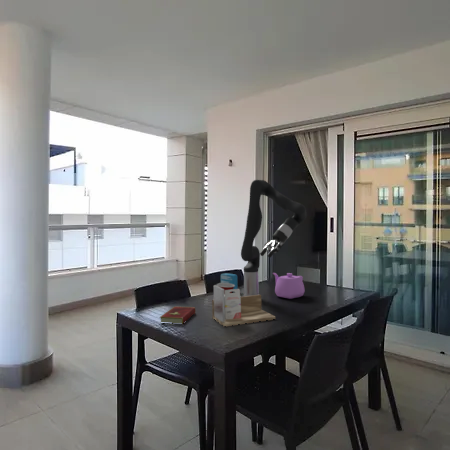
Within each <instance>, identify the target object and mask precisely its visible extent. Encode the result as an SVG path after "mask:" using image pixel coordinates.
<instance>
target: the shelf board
mask: <svg viewBox="0 0 450 450" xmlns="http://www.w3.org/2000/svg"><path fill="white" fill-rule="evenodd" d="M240 298H241V318H235V319H227V320H225V322H221V321H220V320H219V319H217V318H216V317H214V299H212V301H211V303H212V304H211V306H212V308H211V309H212V310H211V313H212V319H213V320H214V319H215V320H216V321H215V320H214V321H215V322H217V323H218V322H219V323H218V324H219V325H221V326H222V325H223V327H224V326H226V327H232V325H233V326H238V324H240V325H246V324H245V323H247V324H252V323H253V322H254V323H260V322H259V321H261V322H266V320H268V321H274V320H273V319H275V320H276V316H275V315H273V314H271V313H269V312H267V311H266V310H263V309H262V294H259V295H252V296H244V295H243V296H240Z"/></svg>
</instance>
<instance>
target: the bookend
mask: <svg viewBox="0 0 450 450" xmlns="http://www.w3.org/2000/svg"><path fill="white" fill-rule="evenodd" d="M213 300H214V317H216V318H217V319H219V320H220V321H221V322H225V305H224V289H223V288H220V287H218V286H217V284H214V285H213Z"/></svg>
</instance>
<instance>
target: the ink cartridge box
mask: <svg viewBox="0 0 450 450" xmlns="http://www.w3.org/2000/svg"><path fill="white" fill-rule="evenodd" d="M232 291H233V293H230V292H232ZM240 297H241V290H240V288H238V289H231V290H225V294H224V305H225V320H227V319H235V318H241V298H240Z"/></svg>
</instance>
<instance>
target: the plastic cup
mask: <svg viewBox="0 0 450 450" xmlns="http://www.w3.org/2000/svg"><path fill="white" fill-rule="evenodd" d="M216 286H218V287H220V288H223V289H224V294H225V290H231V289H233V288H234V286H235V285H234V284H230V283H221V282H219V283H216ZM232 292H233V291H232ZM232 292H230V293H232ZM233 293H234V292H233Z"/></svg>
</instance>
